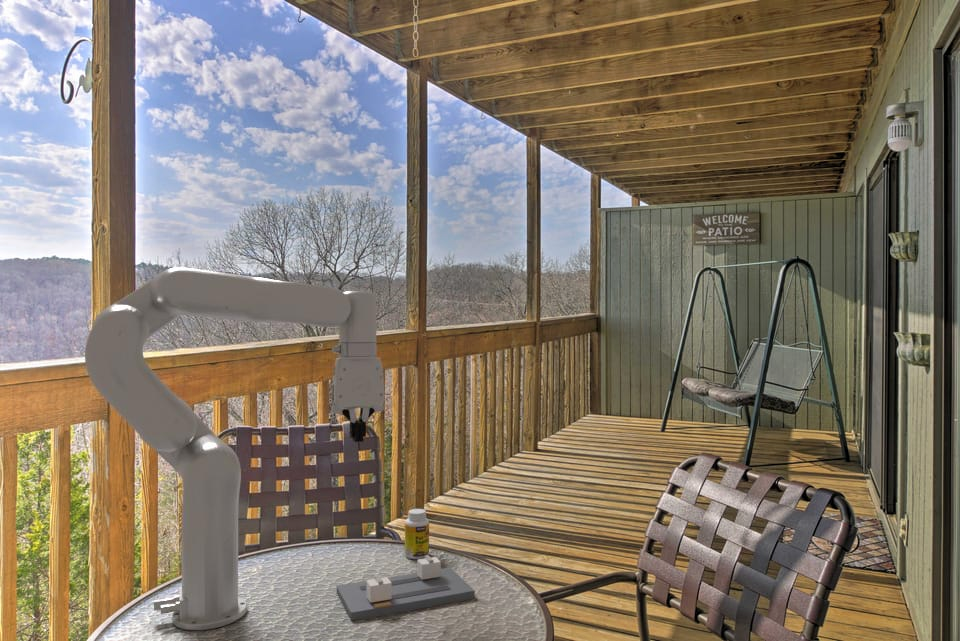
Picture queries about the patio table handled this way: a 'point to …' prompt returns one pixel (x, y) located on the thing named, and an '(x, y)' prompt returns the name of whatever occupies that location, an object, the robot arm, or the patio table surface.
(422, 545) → the supplement bottle
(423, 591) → the switch panel
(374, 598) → the tab near
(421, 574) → the tab far
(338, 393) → the robot arm
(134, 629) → the patio table surface
